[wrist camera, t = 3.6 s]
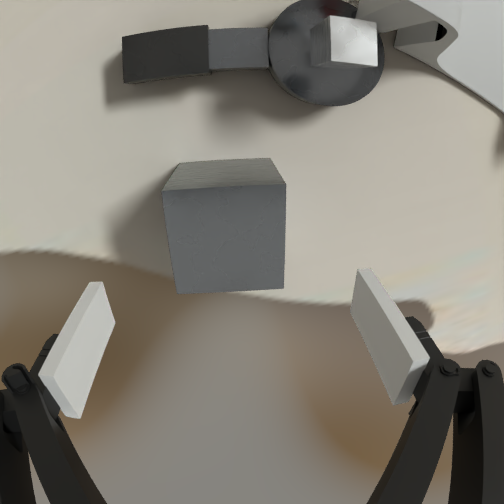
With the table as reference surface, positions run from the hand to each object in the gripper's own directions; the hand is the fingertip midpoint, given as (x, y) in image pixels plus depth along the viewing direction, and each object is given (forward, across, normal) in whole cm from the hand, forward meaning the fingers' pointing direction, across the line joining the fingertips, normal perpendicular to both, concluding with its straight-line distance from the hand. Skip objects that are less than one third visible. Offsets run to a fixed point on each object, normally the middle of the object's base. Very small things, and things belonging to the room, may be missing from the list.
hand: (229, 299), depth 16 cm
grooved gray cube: (+14, 0, 0) cm, 14 cm away
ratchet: (+14, +8, +13) cm, 21 cm away
